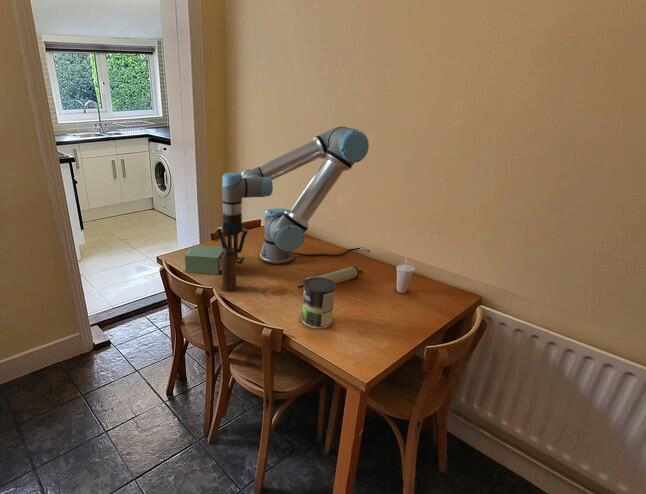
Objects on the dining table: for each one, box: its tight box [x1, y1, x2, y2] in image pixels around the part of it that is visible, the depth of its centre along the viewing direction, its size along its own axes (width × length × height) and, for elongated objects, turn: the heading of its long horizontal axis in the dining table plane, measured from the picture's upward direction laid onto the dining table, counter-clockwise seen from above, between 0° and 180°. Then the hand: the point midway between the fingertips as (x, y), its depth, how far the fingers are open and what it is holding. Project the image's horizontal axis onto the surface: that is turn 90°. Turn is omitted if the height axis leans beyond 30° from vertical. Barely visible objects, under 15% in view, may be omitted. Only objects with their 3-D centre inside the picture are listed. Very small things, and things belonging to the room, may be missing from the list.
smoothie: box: [395, 256, 415, 294], centre depth 156 cm, size 6×6×14 cm
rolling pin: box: [297, 266, 363, 289], centre depth 163 cm, size 32×6×5 cm, turn 117°
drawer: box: [218, 251, 246, 272], centre depth 177 cm, size 18×11×6 cm, turn 77°
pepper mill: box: [221, 246, 237, 293], centre depth 158 cm, size 5×5×17 cm
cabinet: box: [184, 244, 223, 275], centre depth 179 cm, size 15×13×8 cm
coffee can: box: [301, 276, 337, 330], centre depth 137 cm, size 10×10×14 cm
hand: (232, 267), depth 172 cm, fingers closed
